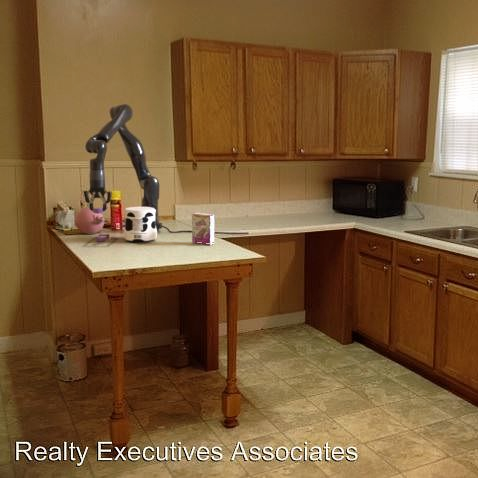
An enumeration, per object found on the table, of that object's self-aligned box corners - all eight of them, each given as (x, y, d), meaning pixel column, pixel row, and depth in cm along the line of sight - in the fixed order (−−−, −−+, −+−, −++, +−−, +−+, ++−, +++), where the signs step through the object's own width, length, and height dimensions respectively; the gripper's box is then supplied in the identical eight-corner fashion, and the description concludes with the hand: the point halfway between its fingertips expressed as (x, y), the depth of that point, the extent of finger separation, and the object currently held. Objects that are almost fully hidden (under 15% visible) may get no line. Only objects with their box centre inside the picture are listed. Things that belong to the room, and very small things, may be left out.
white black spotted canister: (147, 237, 340) (146, 205, 336) (163, 242, 328) (162, 209, 324) (118, 240, 328) (117, 207, 324) (133, 246, 316) (132, 211, 312)
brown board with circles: (117, 238, 334) (117, 237, 333) (107, 246, 312) (106, 245, 312) (95, 238, 333) (95, 237, 332) (83, 246, 311) (83, 245, 311)
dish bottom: (107, 240, 325) (107, 235, 325) (104, 242, 320) (104, 237, 319) (96, 240, 325) (96, 235, 324) (94, 242, 319) (93, 237, 319)
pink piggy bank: (89, 239, 329) (88, 211, 326) (70, 234, 341) (69, 207, 338) (114, 235, 341) (113, 208, 338) (95, 230, 353) (94, 204, 350)
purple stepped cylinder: (105, 212, 320) (105, 207, 320) (102, 213, 315) (102, 208, 314) (94, 212, 320) (94, 207, 319) (91, 213, 314) (91, 208, 314)
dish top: (110, 237, 332) (110, 233, 332) (108, 239, 327) (108, 234, 327) (100, 237, 332) (100, 232, 332) (97, 239, 327) (97, 234, 326)
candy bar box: (191, 243, 326) (191, 213, 323) (196, 242, 331) (196, 212, 328) (210, 245, 323) (210, 215, 320) (214, 244, 327) (214, 214, 324)
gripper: (80, 178, 310) (82, 211, 313) (109, 179, 311) (110, 212, 314) (85, 177, 317) (86, 209, 320) (113, 178, 318) (114, 210, 321)
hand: (98, 210), depth 317 cm, fingers closed on purple stepped cylinder, 5 cm apart
